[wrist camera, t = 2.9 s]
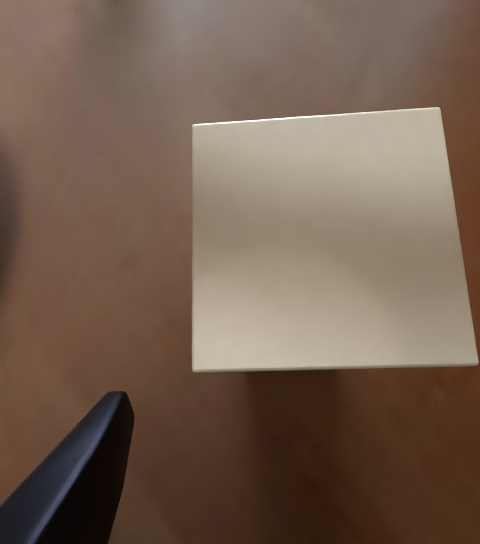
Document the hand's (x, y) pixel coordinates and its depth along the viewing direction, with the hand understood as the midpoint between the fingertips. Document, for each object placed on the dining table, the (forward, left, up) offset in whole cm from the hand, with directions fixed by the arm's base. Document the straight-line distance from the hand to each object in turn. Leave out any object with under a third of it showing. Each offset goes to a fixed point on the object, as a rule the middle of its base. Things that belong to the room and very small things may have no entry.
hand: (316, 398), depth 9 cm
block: (+3, -1, -10) cm, 11 cm away
